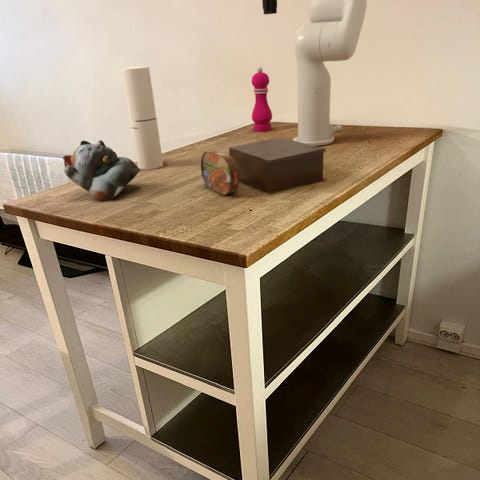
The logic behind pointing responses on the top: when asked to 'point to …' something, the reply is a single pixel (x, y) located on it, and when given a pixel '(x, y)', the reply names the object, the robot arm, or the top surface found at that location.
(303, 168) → the chest
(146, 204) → the top surface
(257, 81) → the pepper mill
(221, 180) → the tin
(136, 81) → the cylindrical container
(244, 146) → the lid
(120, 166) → the lucky cat figurine
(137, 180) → the top surface
